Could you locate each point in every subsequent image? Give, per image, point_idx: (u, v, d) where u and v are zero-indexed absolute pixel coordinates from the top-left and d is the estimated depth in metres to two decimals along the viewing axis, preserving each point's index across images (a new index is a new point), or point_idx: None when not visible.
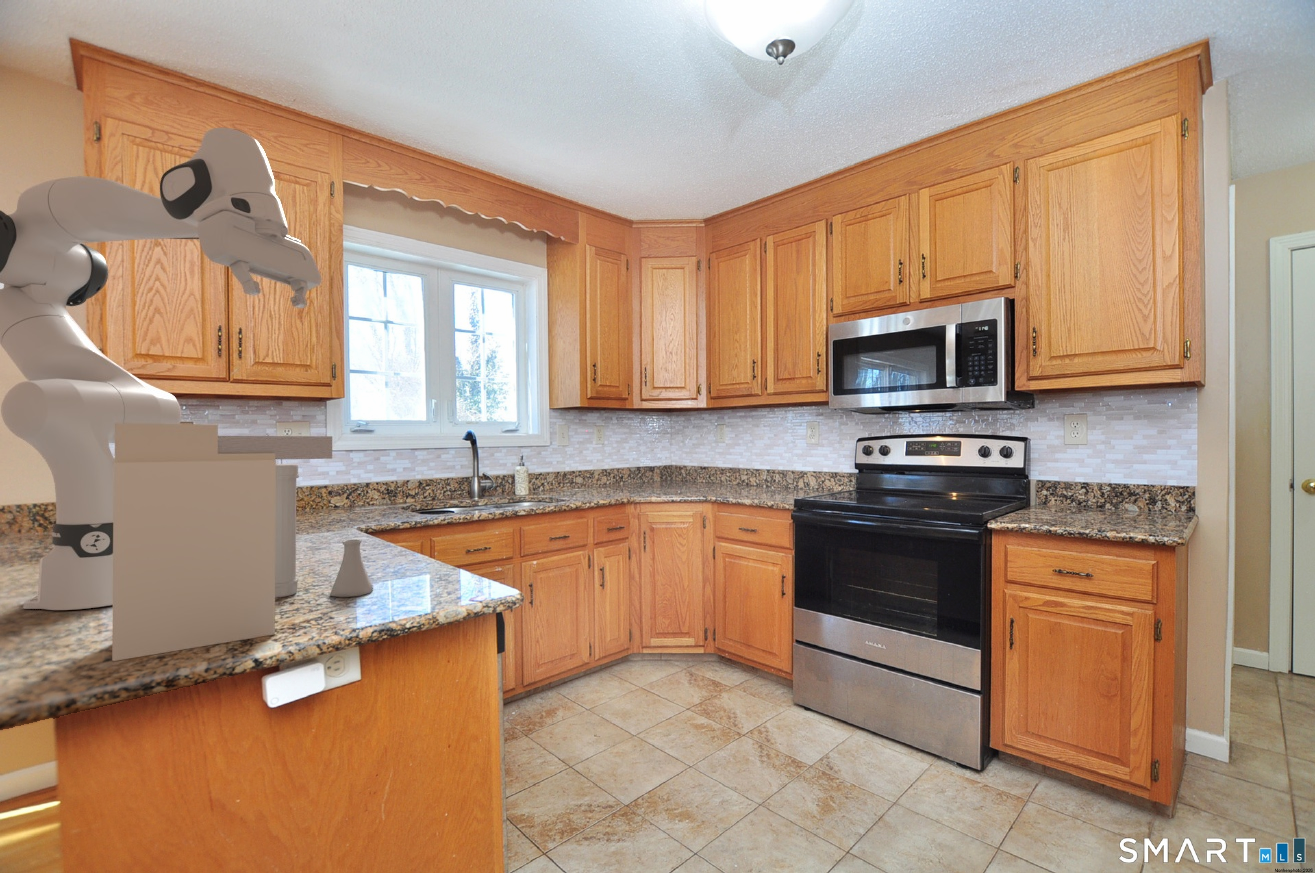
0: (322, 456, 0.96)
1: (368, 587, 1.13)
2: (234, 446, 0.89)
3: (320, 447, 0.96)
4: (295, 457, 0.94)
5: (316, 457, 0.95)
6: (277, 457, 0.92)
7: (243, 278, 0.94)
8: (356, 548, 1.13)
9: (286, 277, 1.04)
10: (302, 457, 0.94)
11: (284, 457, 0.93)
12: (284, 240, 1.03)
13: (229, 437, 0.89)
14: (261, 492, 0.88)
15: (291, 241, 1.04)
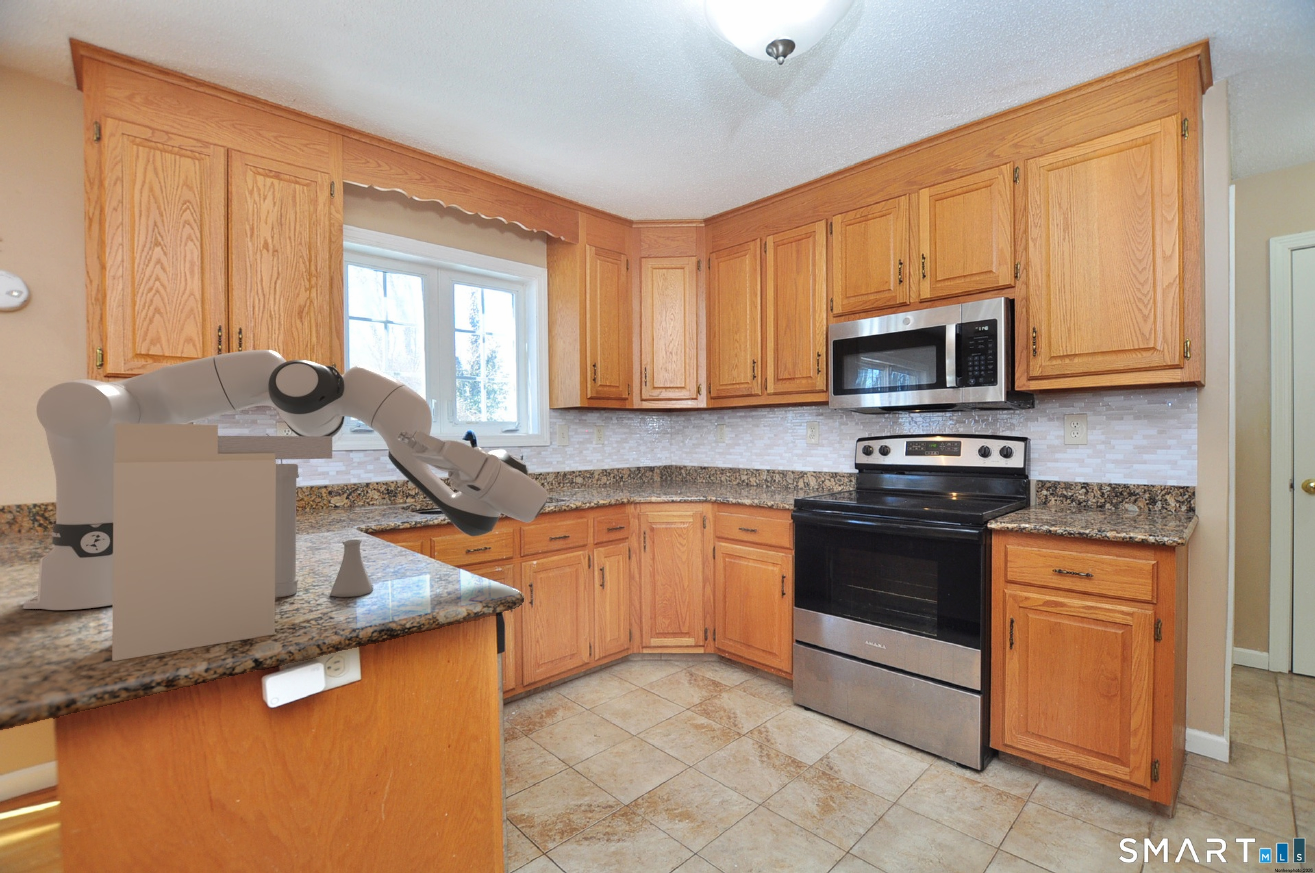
0: (322, 456, 0.96)
1: (368, 587, 1.13)
2: (234, 446, 0.89)
3: (320, 447, 0.96)
4: (295, 457, 0.94)
5: (316, 457, 0.95)
6: (277, 457, 0.92)
7: (428, 440, 1.02)
8: (356, 548, 1.13)
9: (428, 446, 1.12)
10: (302, 457, 0.94)
11: (284, 457, 0.93)
12: None
13: (229, 437, 0.89)
14: (261, 492, 0.88)
15: None
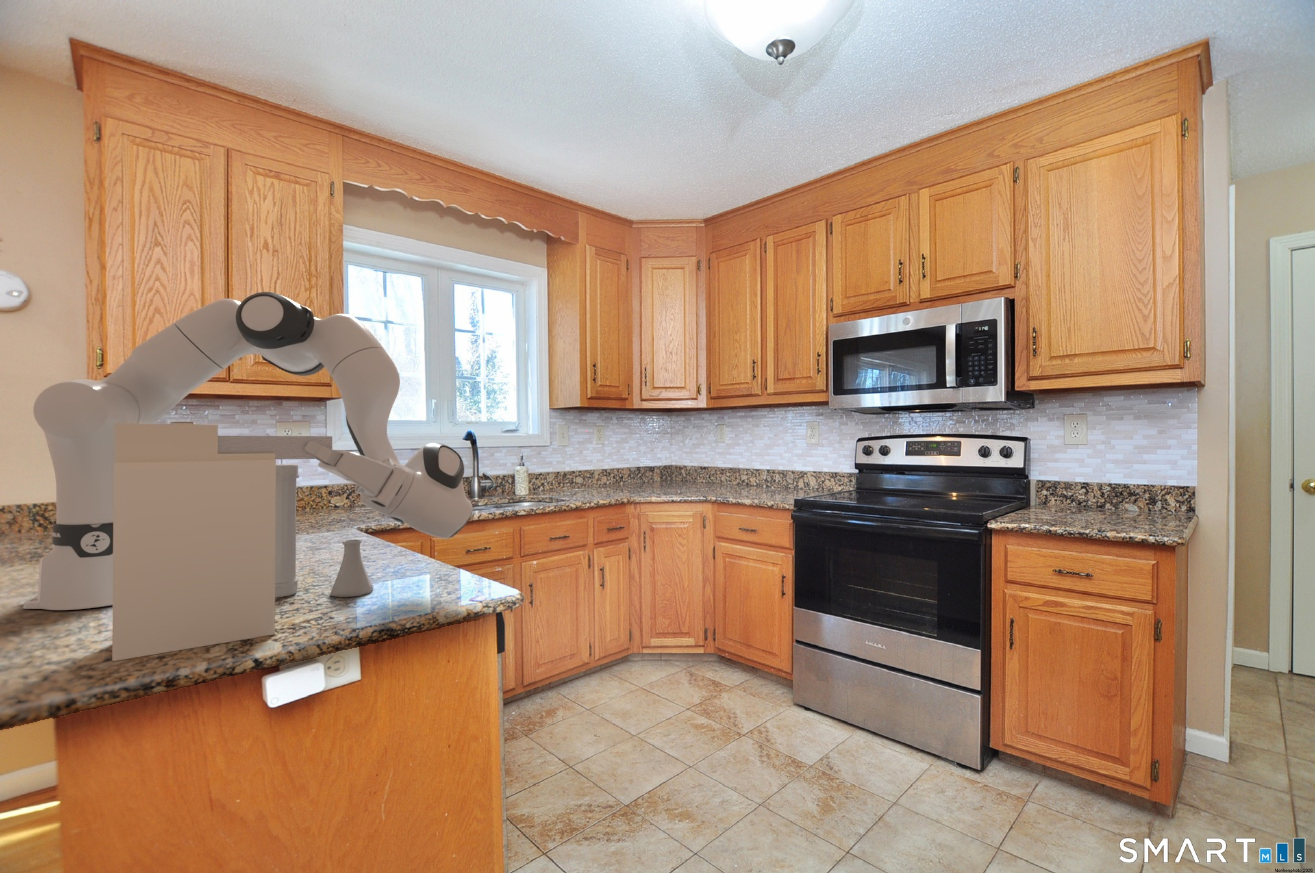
0: None
1: (368, 587, 1.13)
2: (234, 446, 0.89)
3: None
4: (295, 457, 0.94)
5: (316, 457, 0.96)
6: (277, 457, 0.92)
7: (321, 451, 0.94)
8: (356, 548, 1.13)
9: None
10: (302, 457, 0.94)
11: (284, 457, 0.93)
12: None
13: (229, 437, 0.89)
14: (261, 492, 0.88)
15: None
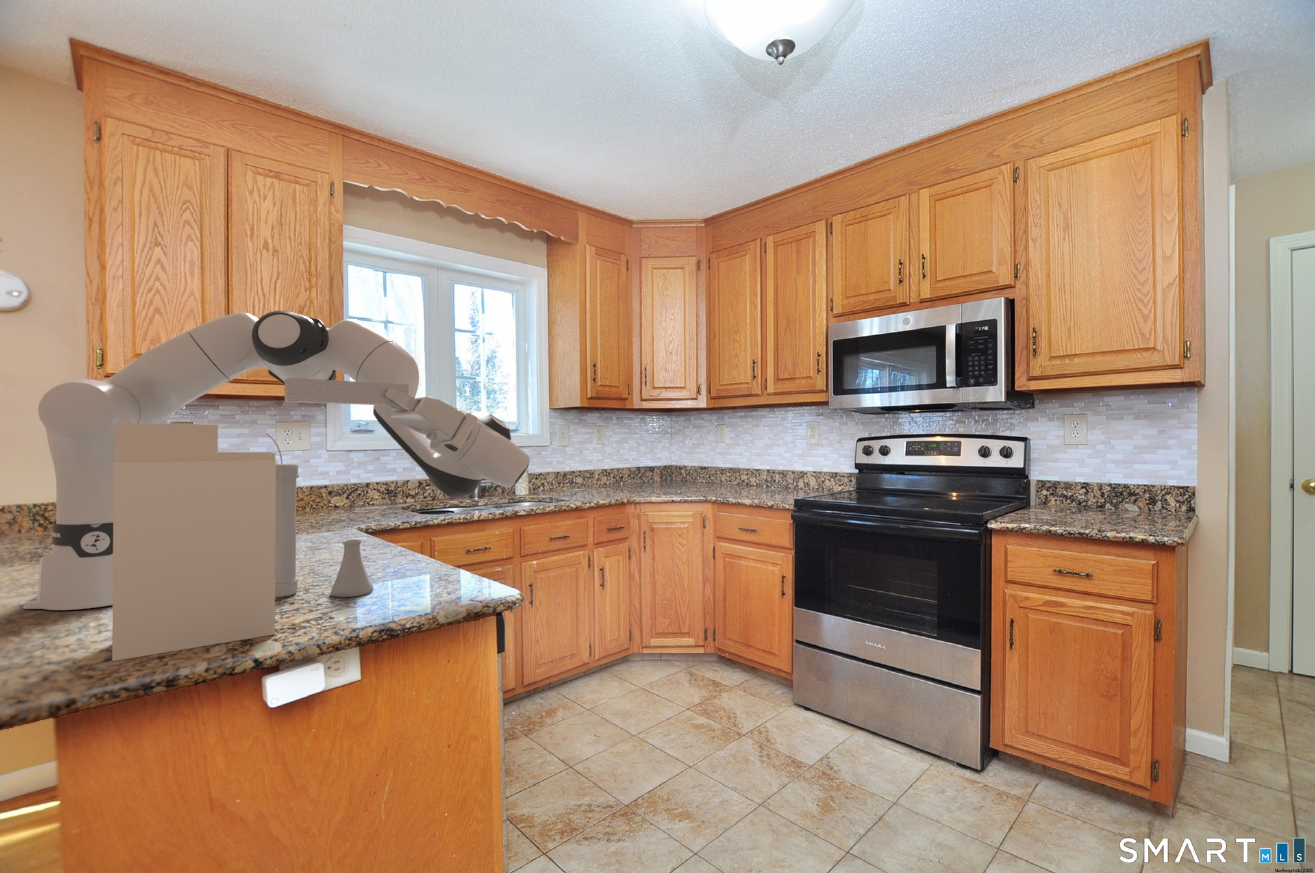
0: None
1: (368, 587, 1.13)
2: (324, 389, 0.96)
3: None
4: (376, 402, 1.01)
5: (394, 403, 1.03)
6: (361, 401, 0.99)
7: (400, 397, 1.02)
8: (356, 548, 1.13)
9: None
10: (382, 402, 1.02)
11: (367, 402, 1.00)
12: None
13: (320, 381, 0.96)
14: (261, 492, 0.88)
15: None
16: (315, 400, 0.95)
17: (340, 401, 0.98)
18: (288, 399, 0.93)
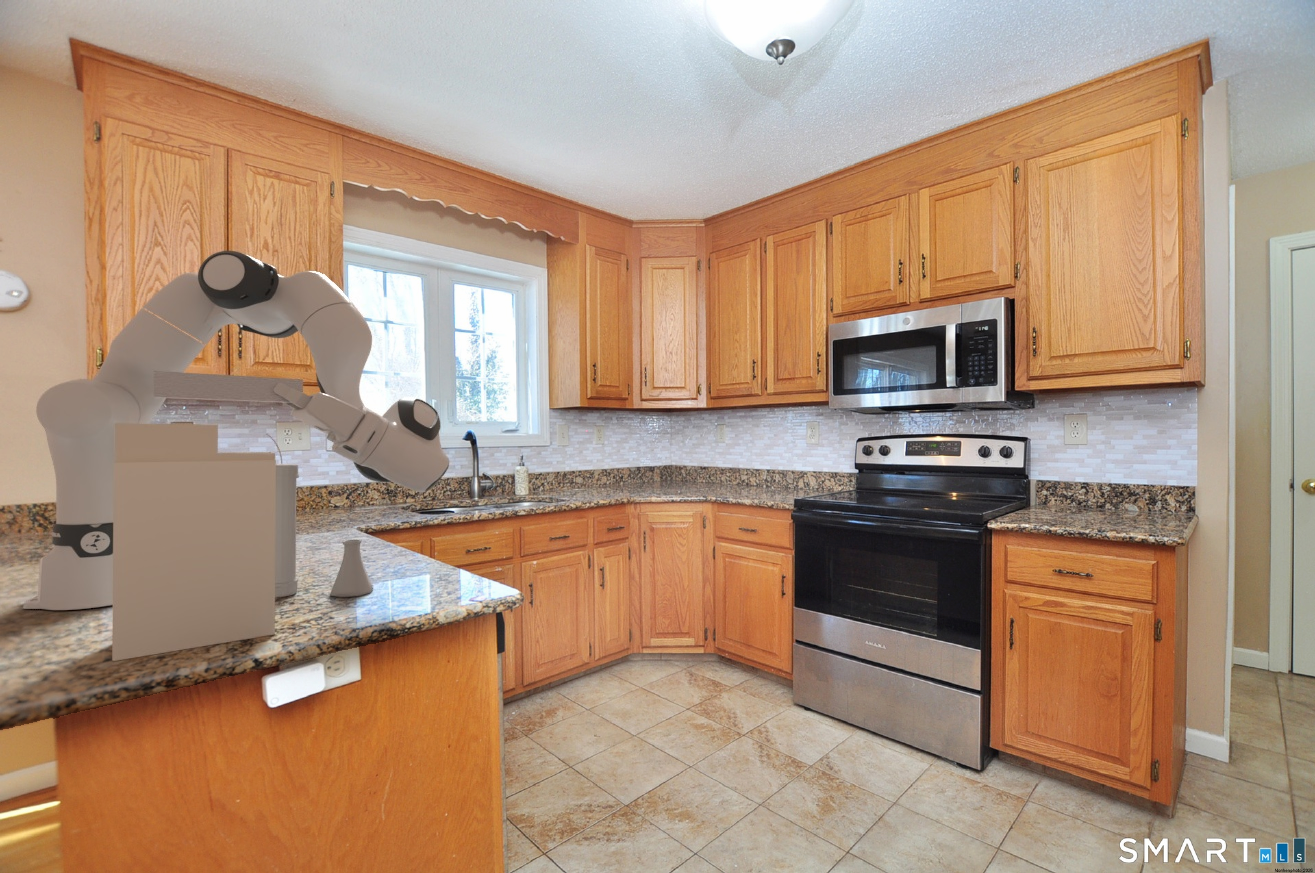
0: None
1: (368, 587, 1.13)
2: (199, 384, 0.86)
3: None
4: (263, 399, 0.91)
5: (286, 400, 0.93)
6: (244, 398, 0.90)
7: (290, 394, 0.92)
8: (356, 548, 1.13)
9: None
10: (271, 399, 0.92)
11: (252, 398, 0.90)
12: None
13: (194, 374, 0.86)
14: (261, 492, 0.88)
15: None
16: (188, 396, 0.86)
17: (219, 397, 0.88)
18: (154, 395, 0.83)
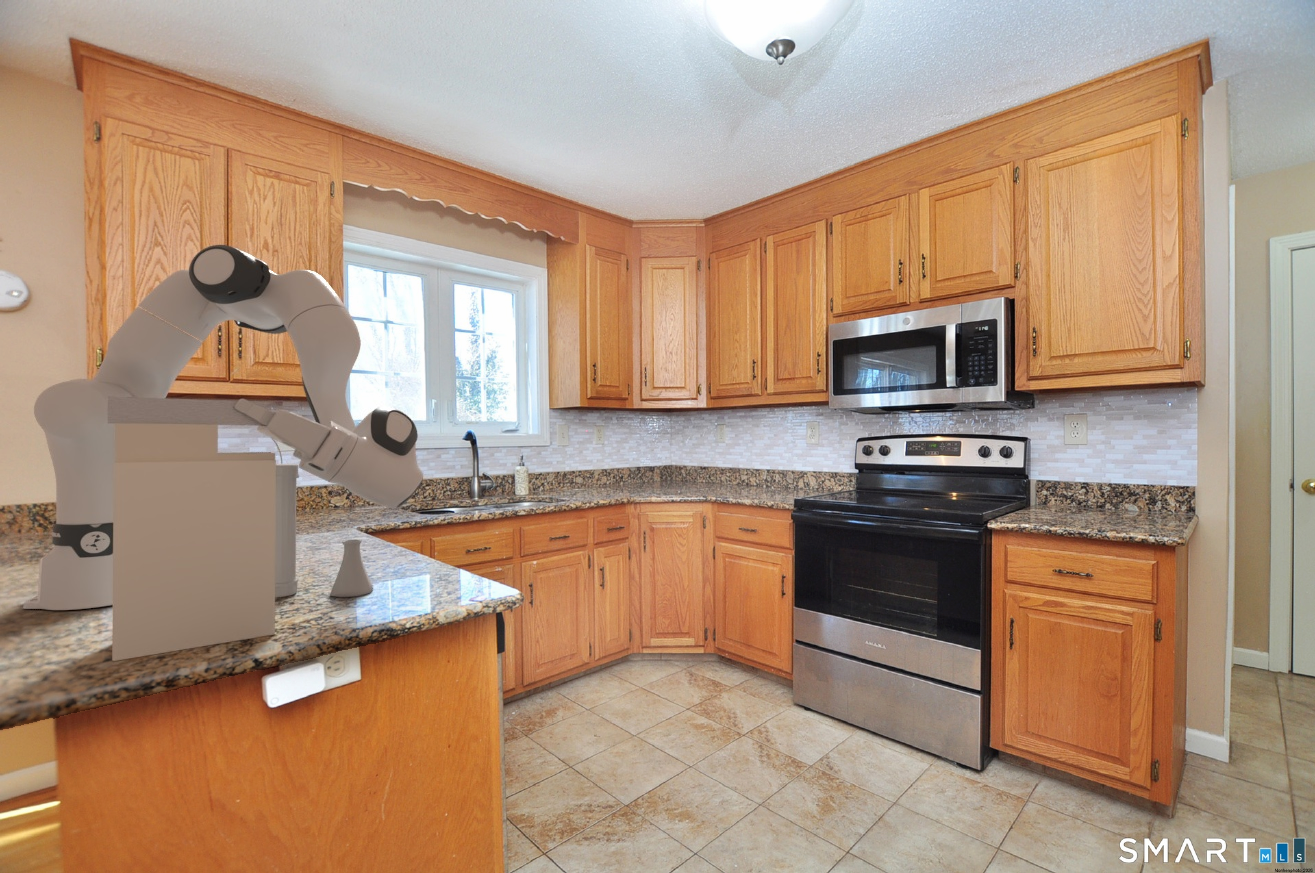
0: (255, 422, 0.91)
1: (368, 587, 1.13)
2: (156, 409, 0.84)
3: None
4: (225, 423, 0.88)
5: (249, 423, 0.90)
6: (205, 422, 0.87)
7: (253, 410, 0.88)
8: (356, 548, 1.13)
9: None
10: (233, 423, 0.89)
11: (213, 422, 0.87)
12: None
13: (151, 399, 0.83)
14: (261, 492, 0.88)
15: None
16: (145, 422, 0.83)
17: (178, 422, 0.85)
18: (109, 421, 0.81)
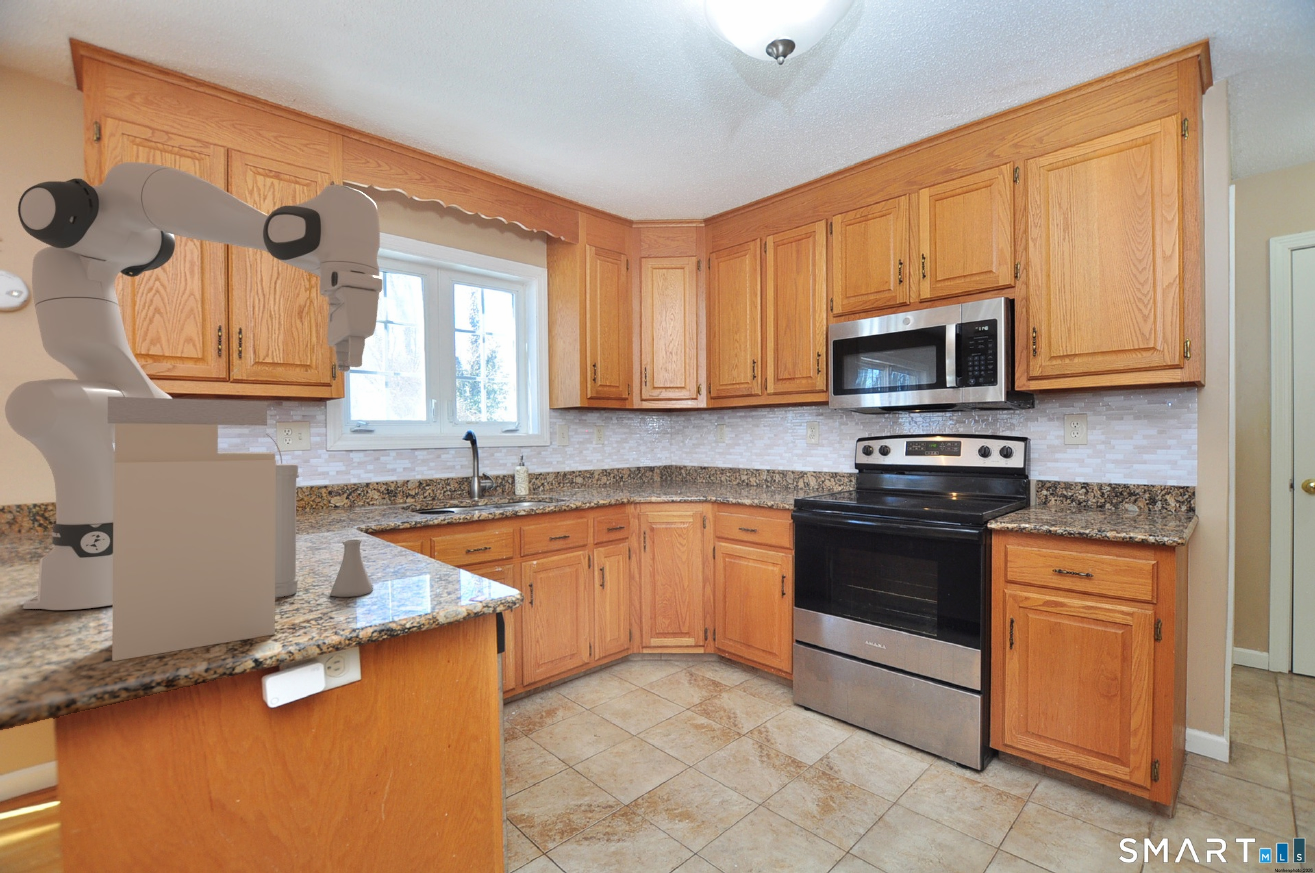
0: (255, 422, 0.91)
1: (368, 587, 1.13)
2: (156, 409, 0.84)
3: (253, 413, 0.90)
4: (225, 423, 0.88)
5: (249, 423, 0.90)
6: (205, 422, 0.87)
7: (356, 352, 0.95)
8: (356, 548, 1.13)
9: (341, 339, 1.03)
10: (233, 423, 0.89)
11: (213, 422, 0.87)
12: None
13: (151, 399, 0.83)
14: (261, 492, 0.88)
15: None
16: (145, 422, 0.83)
17: (178, 422, 0.85)
18: (109, 421, 0.81)
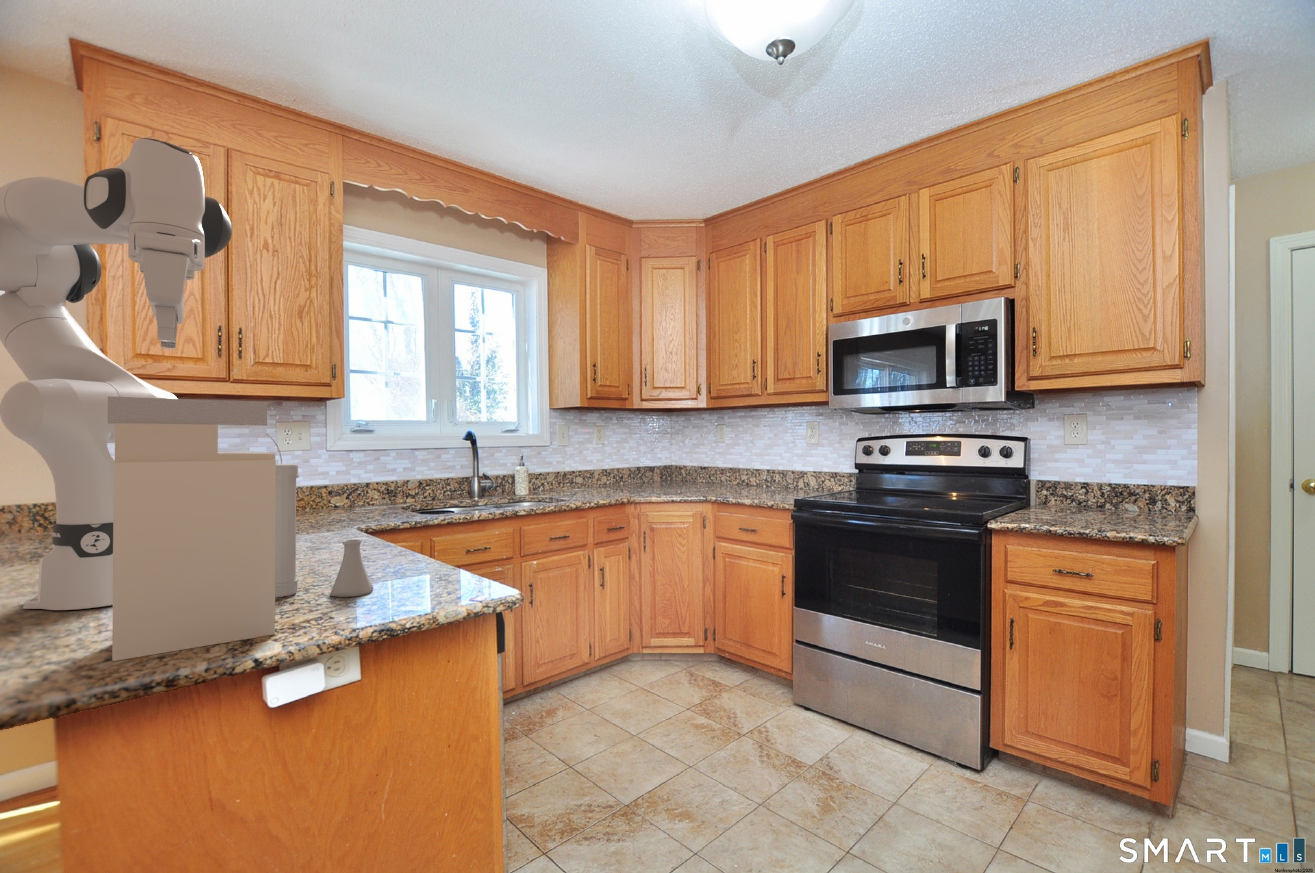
0: (255, 422, 0.91)
1: (368, 587, 1.13)
2: (156, 409, 0.84)
3: (253, 413, 0.90)
4: (225, 423, 0.88)
5: (249, 423, 0.90)
6: (205, 422, 0.87)
7: (165, 324, 0.85)
8: (356, 548, 1.13)
9: None
10: (233, 423, 0.89)
11: (213, 422, 0.87)
12: None
13: (151, 399, 0.83)
14: (261, 492, 0.88)
15: None
16: (145, 422, 0.83)
17: (178, 422, 0.85)
18: (109, 421, 0.81)
